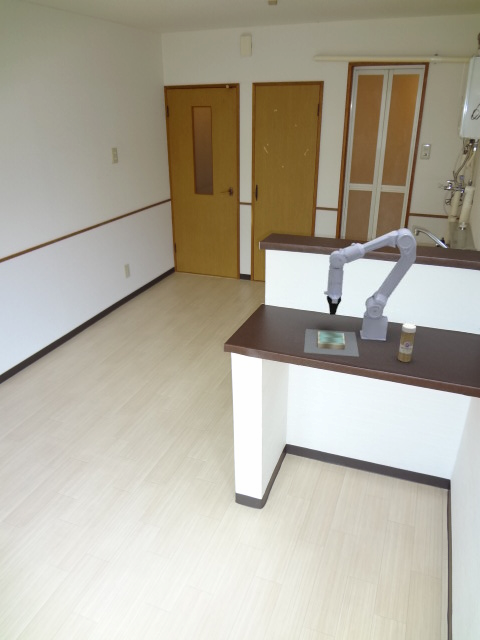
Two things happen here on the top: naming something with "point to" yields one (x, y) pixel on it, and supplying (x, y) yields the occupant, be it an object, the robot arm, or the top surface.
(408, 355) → the sprinkles bottle
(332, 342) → the teal framed tile
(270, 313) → the top surface
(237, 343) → the top surface
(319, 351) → the slate mat
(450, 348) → the top surface
